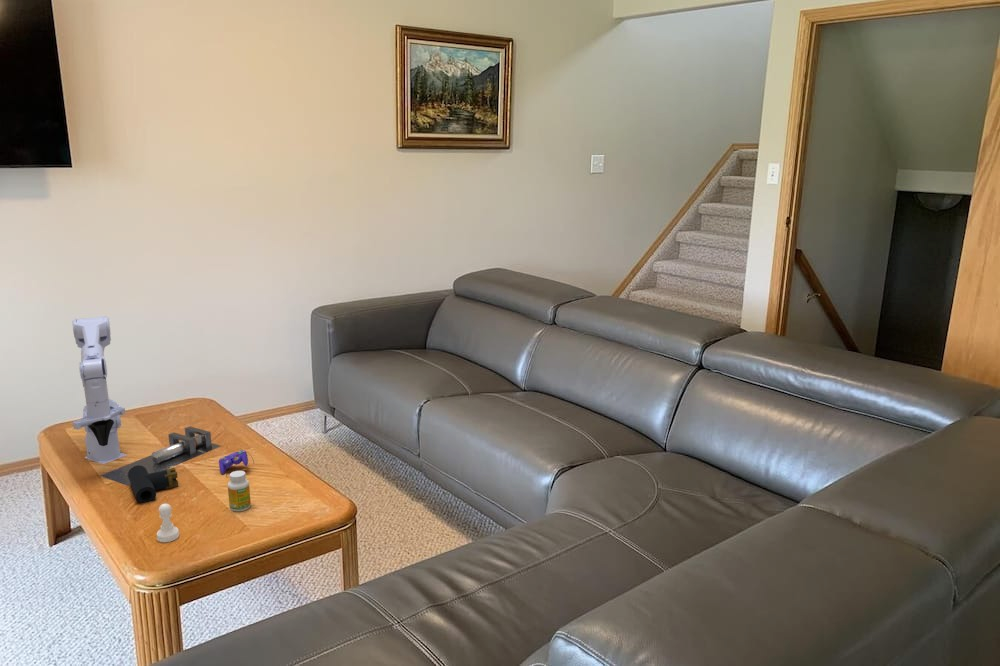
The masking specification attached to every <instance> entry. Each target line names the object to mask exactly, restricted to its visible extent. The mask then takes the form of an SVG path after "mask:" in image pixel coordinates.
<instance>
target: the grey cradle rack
mask: <svg viewBox="0 0 1000 666" xmlns="http://www.w3.org/2000/svg"><path fill="white" fill-rule="evenodd" d="M167 435H168V443H169V444H168V445H169V446H171V445H174V444H176V443H179V442H181V441H185V447H186V452H185V453H182V454H180V455H177V456H175V457H172V458H170V459H168V460H165V461H163V462H160V463H158V464H156V463H155V462H154V461H153V459H152V454H151V455H149V456H146V457H144V458H141V459H138V460H136V461H134V462H131V463H128V464H125V465H122V466H121V467H118V468H115V469H112V470H110V471H108V472H105V473H103V474H101V475H99V476H100V477H101V478H104V479H107V480H111V481H113V482H116V483H119V484H122V485H125V486H127V487H128V486H131V483H130V481H129V478H128V472H129V470H130V469H131V468H132V467H134V466H138V465H140V466H143V467H145V468H146V470H147V472H148V474H149V473H154V472H159V471H162V470H166V469H171V468H175V466H178V465H181V464H183V463H186V462H188V461H189V460H192V459H194V458H197V457H200V456H203V455H204V454H206V453H208V452H211V451H213V450H216V449H218V448H221V447H222V445H220V444H216V443H212V434H211V431H208V430H204V429H200V428H197V427H194V426H187V427H184V434H181V433H177V432H171V433H169V434H167ZM196 435H201V439H202V446H200V447H197V448H195V438H192V437H194V436H196Z"/></svg>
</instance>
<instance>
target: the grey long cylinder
mask: <svg viewBox="0 0 1000 666" xmlns="http://www.w3.org/2000/svg"><path fill="white" fill-rule="evenodd" d="M192 438H195V448H197V447H200V446H202V439H201V435H199V434H196V435H195V436H194V437H192ZM185 452H186V447H185V441H181V440H180V441H179V443H176V444H174V445H171V446H170V445H168V446H166V447H163V448H161V449H158V450H156V451H153V452H152V453H151V455H152V459H153V461H154V462H155V463H156V464H158V463H160V462H163V461H165V460H168V459H170V458H172V457H175V456H177V455H180V454H182V453H185Z"/></svg>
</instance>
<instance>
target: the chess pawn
mask: <svg viewBox="0 0 1000 666" xmlns="http://www.w3.org/2000/svg"><path fill="white" fill-rule="evenodd" d="M171 511H172V506H171V505H170V504H169V503H162V504H160V506H159V507H158V513H159V515H158V516H159V519H162V524H160V527H159V528H160V529H158V531H157V532H156V540H157V541H158V542H159V543H169V542H174V541H175V540H177V539H178V538H179V537H180V532H179V531H180V530H179V528H178V527H177V526H174V523H173V522H172V521H171V519H170V518H171V517H172V516H173V512H172V513H171Z"/></svg>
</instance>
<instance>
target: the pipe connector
mask: <svg viewBox="0 0 1000 666" xmlns="http://www.w3.org/2000/svg"><path fill="white" fill-rule="evenodd" d="M128 478H129V481H130V483H131V485H130V486H131V489H132V492H133V495H134V497H135V499H136V501H137V503H138V504H147V503H151V502H153V501H155V499H156V498H157V497H156V496H157V491H159V490H161V491H162V490H165V489H166V490H167V489H172V488H177V487H179V481H178V472H177V471H176V468H175V467H171V468H169V469H166V470H162V471H159V472H154V473H149V474H148V472H147V470H146V468H145V467H143V466H140V465H138V466H134V467H132V468H131V469H130V470H129V472H128Z"/></svg>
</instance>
